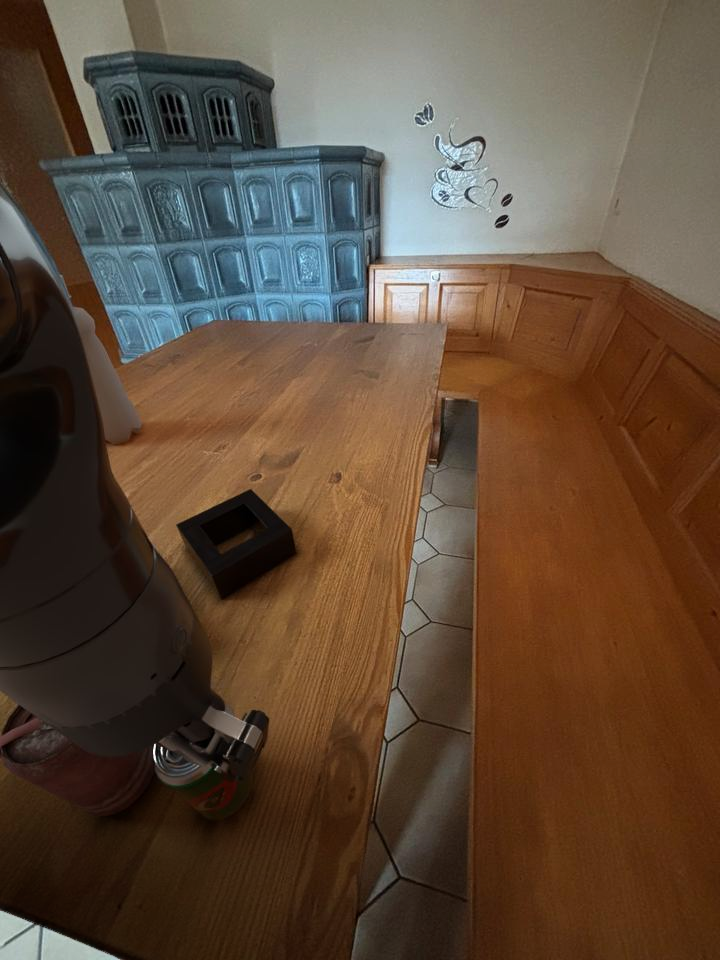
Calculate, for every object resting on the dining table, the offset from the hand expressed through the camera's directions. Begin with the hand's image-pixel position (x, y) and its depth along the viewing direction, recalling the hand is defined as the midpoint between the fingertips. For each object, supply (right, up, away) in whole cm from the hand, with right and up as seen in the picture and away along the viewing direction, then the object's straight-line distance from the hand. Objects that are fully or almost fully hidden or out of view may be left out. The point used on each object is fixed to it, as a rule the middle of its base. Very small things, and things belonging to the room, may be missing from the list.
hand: (205, 751), depth 30 cm
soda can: (0, -7, +5) cm, 8 cm away
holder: (-5, +11, +26) cm, 29 cm away
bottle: (-39, +30, +51) cm, 71 cm away
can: (-10, -6, +5) cm, 13 cm away
